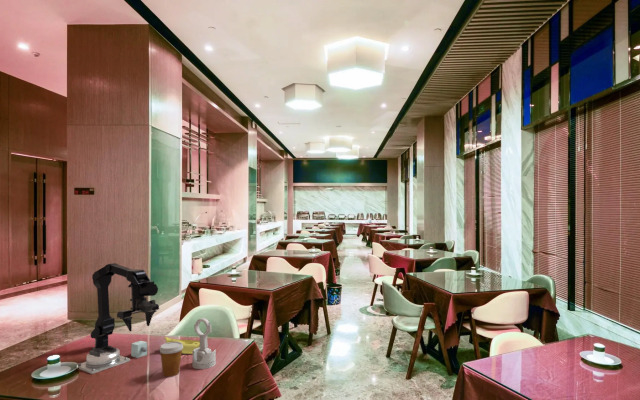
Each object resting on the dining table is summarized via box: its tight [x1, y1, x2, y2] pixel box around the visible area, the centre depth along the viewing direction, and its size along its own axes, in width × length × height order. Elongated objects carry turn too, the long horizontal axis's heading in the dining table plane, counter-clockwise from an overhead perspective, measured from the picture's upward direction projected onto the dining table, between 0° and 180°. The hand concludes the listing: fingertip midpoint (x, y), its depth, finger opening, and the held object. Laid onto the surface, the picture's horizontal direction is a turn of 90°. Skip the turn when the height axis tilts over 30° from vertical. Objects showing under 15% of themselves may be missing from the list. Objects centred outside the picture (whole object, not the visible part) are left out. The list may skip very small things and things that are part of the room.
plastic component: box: [164, 336, 200, 355], centre depth 184 cm, size 20×7×10 cm
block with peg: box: [130, 340, 148, 359], centre depth 177 cm, size 7×5×6 cm
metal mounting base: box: [77, 344, 131, 375], centre depth 167 cm, size 14×17×6 cm
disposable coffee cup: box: [158, 342, 183, 377], centre depth 156 cm, size 10×10×12 cm
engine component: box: [191, 317, 217, 370], centre depth 166 cm, size 11×20×10 cm
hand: (139, 328), depth 178 cm, fingers open, 9 cm apart
